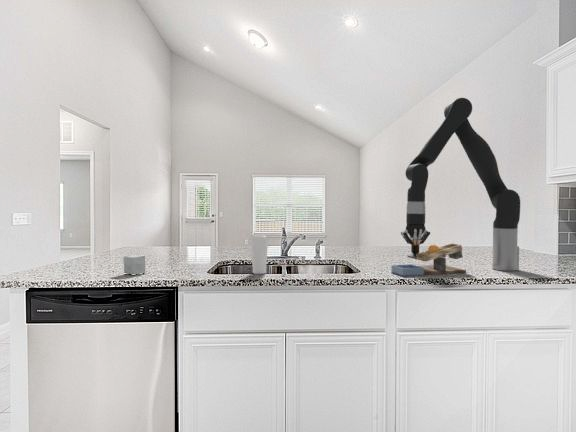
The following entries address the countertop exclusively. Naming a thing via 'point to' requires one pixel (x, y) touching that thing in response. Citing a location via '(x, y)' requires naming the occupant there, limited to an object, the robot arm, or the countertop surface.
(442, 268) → the lever stand
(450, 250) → the lever
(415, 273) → the tray
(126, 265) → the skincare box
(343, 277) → the countertop surface
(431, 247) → the ball
